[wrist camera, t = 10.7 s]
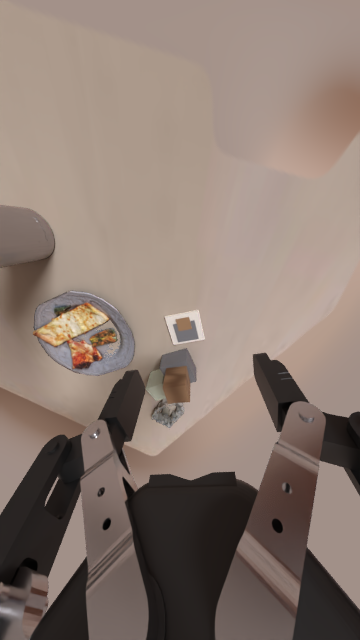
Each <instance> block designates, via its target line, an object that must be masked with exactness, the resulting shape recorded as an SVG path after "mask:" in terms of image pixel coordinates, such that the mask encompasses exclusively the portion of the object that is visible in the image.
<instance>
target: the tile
mask: <svg viewBox="0 0 360 640" xmlns="http://www.w3.org/2000/svg"><path fill="white" fill-rule="evenodd" d="M165 320H166V323H167V326H168V329H169V332H170V335H171V339H172V342H173V345H176V344H182V343H188V342H193V341H199V340H205V337H204V333H203V328H202V324H201V319H200V315H199V310H194V311H189V312H184V313H179V314H174V315H169V316H165Z"/></svg>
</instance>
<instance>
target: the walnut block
mask: <svg viewBox="0 0 360 640" xmlns="http://www.w3.org/2000/svg"><path fill="white" fill-rule="evenodd" d="M163 391H164V394H165V397H166V399H167V402H168V404H171V403H183V402H190V378H189V374H188V370H187V366H181V367H172V368H166V372H165V377H164V383H163Z"/></svg>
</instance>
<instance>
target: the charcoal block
mask: <svg viewBox="0 0 360 640" xmlns="http://www.w3.org/2000/svg"><path fill="white" fill-rule="evenodd" d="M181 366H187V370H188V374H189V378H190V383H191V382H196V367H195V365H194V362H193V360H192V358H191V356H190V354H189V352H188V350H187V348H186V349H182V350H179V351H175V352H172V353H168V354H165V355H162V359H161V363H160V367H159V368H160V370H161V372H162V373H163V375H164V377H165V372H166V368H172V367H181Z"/></svg>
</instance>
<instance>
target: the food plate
mask: <svg viewBox="0 0 360 640" xmlns="http://www.w3.org/2000/svg"><path fill="white" fill-rule="evenodd" d="M109 319H110V320H111V321H112V323H113V324H114V326H115V327H116V329H117V331H118V332H119V335H120V339H121V340H120V343H121V344H120V346H118V347H119V349H115V351H114V352H116V353H114V352H113V353H114V354H113V355H112V354H111V353H110V355H109V354H108V352H107V350H112V347H111V348H108V347H109V345H110V343H113V342H115V341H117V340H118V339H117V337H116V336H117V333H116V331H114V329H113V328H111V329H105V330H101V331H100V330H99V331H98V330H97V328H99V327H100V326H102V325H103V324H104V323H106V322H108V320H109ZM94 329H95V330H94ZM34 330H35V331H34V332H33V335H34V336H37V338H38V341H39V343H40V344H41V346H42V347H43V348H44V350H45V351H46V353H47V354H48V356H50V357H51V358H52V359H53V360H54V361H55V362H57V363H58V364H60V365H62V366H64V367H65V368H67V369H69V370H71V371H73V372H75V373H79V374H80V373H81V374H86V375H95V376H99V375H102V374H106V373H109V372H112V371H116V370H118V369H120V368H121V369H122V368H125V367H126V366H127V365H128V364H129V363H130V362H131V361H132V359H133V356H134V345H135V344H134V339H133V335H132V332H131V330H130V328H129V326H128V325H127V323H126V321H125V320H124V318H123V316H121V314H120V312H119V311H118V310H117V309H116V308H115V307H114V306H112V305H111V304H109V303H108V302H107V301H104V300H103V299H101V298H99V297H97V296H95V295H93V294H89V293H86V292H77V291H69V292H66V293H63V294H61V295H60V296H57V297H55V298H53V299H51V300H48V301H46V302H44V303H42V304H41V305H39V306H38V307H37V308H36V311H35V316H34ZM96 330H97V331H96ZM77 339H79V340H80V341H77ZM111 345H112V344H111ZM112 346H113V345H112ZM105 353H107V354H108V355H107V354H105ZM104 354H105V355H104ZM104 356H105V357H104ZM109 356H112V357H110V358H109Z"/></svg>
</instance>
